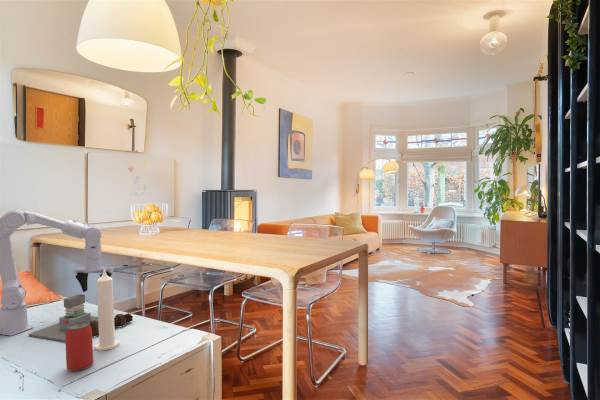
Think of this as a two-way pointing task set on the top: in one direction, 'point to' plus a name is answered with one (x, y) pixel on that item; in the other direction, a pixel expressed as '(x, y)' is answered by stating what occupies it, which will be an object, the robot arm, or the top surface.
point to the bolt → (118, 320)
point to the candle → (106, 314)
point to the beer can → (79, 346)
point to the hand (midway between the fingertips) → (94, 290)
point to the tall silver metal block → (74, 306)
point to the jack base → (61, 327)
